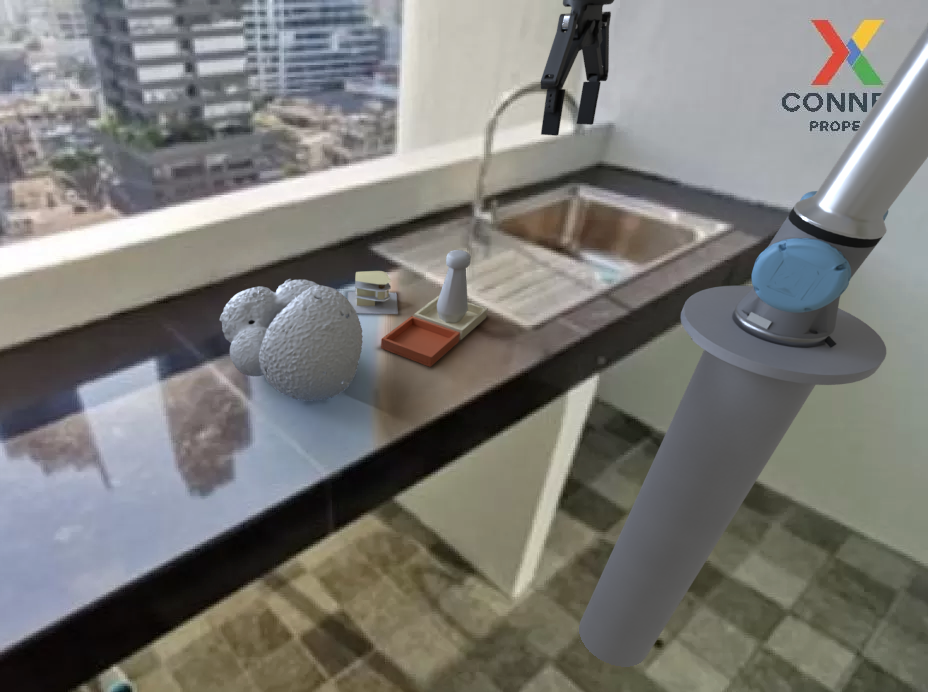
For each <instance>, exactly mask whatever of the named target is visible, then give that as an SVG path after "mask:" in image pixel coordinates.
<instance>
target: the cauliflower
mask: <svg viewBox="0 0 928 692" xmlns="http://www.w3.org/2000/svg"><path fill="white" fill-rule="evenodd" d="M277 287H278V288H276V291H273V290H271V289H270V288H269V287H265V286H255V287H251V288H247V289H244V290H242V291H239V292H237V293H236V294H234V295H233V296H232V297H231V298H230V300H229V301H227V303H226V304H225V306H224V307H223V311H222V313H221V314H220V317H219V322H221V326H222V327H221V328H222V329H221V332H222V333H223V336H224V338H225V340H226V341H228V342H229V343H230V346H229V358H230V360H231V362H232V363H233V366H234V367H235V368H236V370H237V371H238V372H239V373H240V374H243V375H245V376H248V377H261V376H264V378H265V380H266V382H268V384H269V385H271V386H272V388H274V389H275V390H276V391H278V392H279V393H280V394H283V395H284V396H286V397H288V398H291V399H294V400H299V401H305V402H306V401H307V402H309V401H321V400H322V401H323V400H329V399H332V398H334V397H336V396H338V395H340V394H341V393H343V392H345V390H346V389H348V388H349V386H350V385H351V383H352V382H353V380H354V378H355V376H356V373H357V370H358V366H359V361H360V359H361V354H362V349H363V348H362V347H363V329H362V325H361V321H360V318H359V315H358V313H356V310H355V309H354V308H353V306H352V305H351V303H350V302H349V300H348V297H346V296H345V295H344V294H343V293H342V292H340V291H339V290H336V288H333V287H330V286H325V285H320V284H318V283H316V282H315V281H312V280H308V279H293V280H292V278H289V279H286V280H285V281H284V283H282V284H280V285H278V286H277Z"/></svg>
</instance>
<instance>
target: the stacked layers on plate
mask: <svg viewBox="0 0 928 692" xmlns="http://www.w3.org/2000/svg"><path fill="white" fill-rule="evenodd" d="M354 278H355V279H354V281H355V283H354V291H348V292H347V300H349V302H350V303H351V305H352V306H353V308H354V309H355V310H356V314H368V315H369V314H371V315H372V314H375V315H376V314H377V315H378V314H379V315H398V314H399V310H398V295H397V293H398V292H389V290H391V289H392V286H391V284H390V283H391V282H392V279H391V278H390V277H389V275H388V273H387V272H385V271H382V270H367V271H366V270H365V271H356V272H355V277H354Z"/></svg>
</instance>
